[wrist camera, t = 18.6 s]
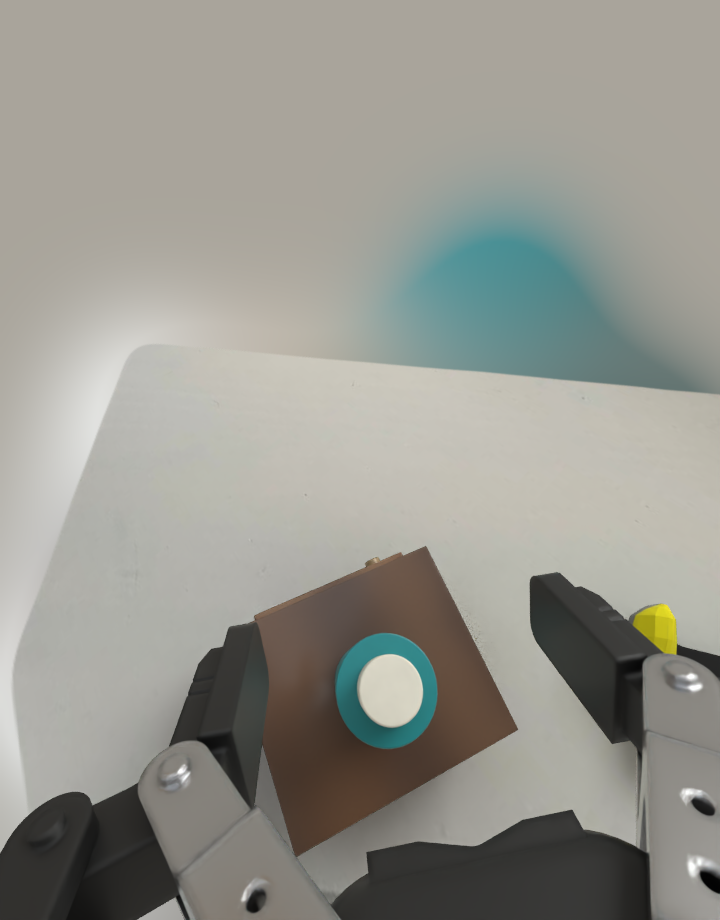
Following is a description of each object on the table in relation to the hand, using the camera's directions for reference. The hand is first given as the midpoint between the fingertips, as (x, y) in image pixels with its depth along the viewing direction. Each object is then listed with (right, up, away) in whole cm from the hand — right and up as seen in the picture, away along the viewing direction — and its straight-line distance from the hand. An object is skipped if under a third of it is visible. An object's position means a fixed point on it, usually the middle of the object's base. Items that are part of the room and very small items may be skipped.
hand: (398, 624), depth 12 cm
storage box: (-1, -12, +22) cm, 25 cm away
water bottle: (-1, -9, +14) cm, 16 cm away
